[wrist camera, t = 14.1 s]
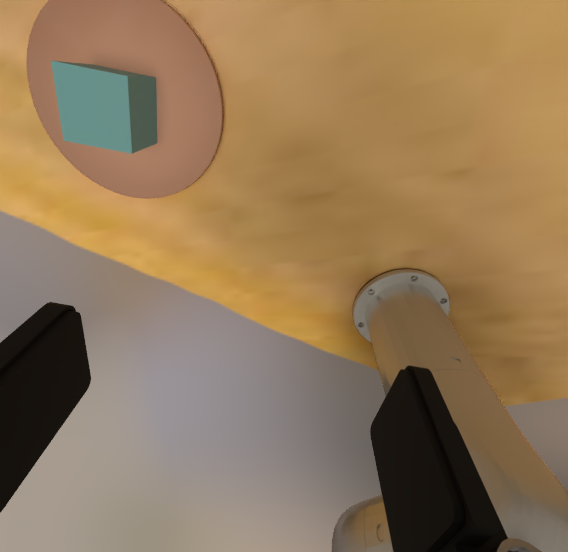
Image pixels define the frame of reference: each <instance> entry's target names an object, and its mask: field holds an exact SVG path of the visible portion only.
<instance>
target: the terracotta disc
mask: <svg viewBox="0 0 568 552" xmlns="http://www.w3.org/2000/svg"><path fill="white" fill-rule="evenodd" d="M51 61H62V62H72V63H83V64H93V65H98V66H103V67H108V68H113V69H118V70H122V71H127V72H132V73H137V74H142V75H147V76H152V77H156V93H157V144H155V145H152V146H150V147H147V148H145V149H142V150H140V151H138V152H135V153H133V154H130V153H125V152H120V151H115V150H110V149H104V148H99V147H94V146H89V145H84V144H78V143H73V142H68V141H63V134H62V128H61V122H60V115H59V109H58V102H57V96H56V90H55V83H54V77H53V71H52V64H51ZM27 76H28V82H29V88H30V93H31V96H32V99H33V103H34V106H35V108H36V111H37V113H38V116H39V118H40V120H41V122H42V124H43V126H44V128H45V130H46V132H47V133H48V135H49V136H50V138H51V140H52V141H53V143H54V144H55V145H56V147H57V148H58V149H59V150H60V152H61V153H62V154H63V155H64V157H65V158H66V159H67V160H68V161H69V162H70V163H71V164H72V165H73V166H74V167H75V168H77V169H78V170H79V171H80V172H81V173H82V174H84V175H85V176H86V177H88V178H89V179H91V180H92V181H94V182H95V183H97V184H99V185H101V186H102V187H104V188H106V189H109V190H111V191H113V192H116V193H119V194H122V195H125V196H130V197H135V198H147V199H149V198H160V197H165V196H169V195H172V194H174V193H177V192H179V191H181V190H183V189H185V188H187V187H188V186H189V185H191V184H192V183H193V182H194V181H196V180H197V179H198V178H199V177H200V176H201V175H202V174H203V173H204V172H205V170H206V169H207V168H208V166H209V165H210V163H211V162H212V160H213V158H214V156H215V154H216V152H217V149H218V146H219V143H220V139H221V135H222V130H223V118H224V114H223V99H222V93H221V87H220V84H219V80H218V76H217V73H216V71H215V68H214V65H213V63H212V60H211V58H210V56H209V55H208V53H207V51H206V49H205V47H204V45H203V44H202V42H201V41H200V39H199V38H198V36H197V35H196V33H195V32H194V31H193V29H192V28H191V27H190V26H189V25H188V23H187V22H186V21H185V20H184V19H183V18H182V17H181V16H180V15H179V14H178V13H177V12H176V11H175V10H173V9H172V8H171V7H169V6H168V5H167V4H165V3H164V2H163V1H161V0H49V1H48V2H47V3H46V4H45V6H44V7H43V8H42V9H41V11H40V13H39V15H38V16H37V18H36V20H35V22H34V25H33V28H32V31H31V33H30V37H29V43H28V48H27Z"/></svg>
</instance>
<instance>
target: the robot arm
mask: <svg viewBox="0 0 568 552" xmlns="http://www.w3.org/2000/svg"><path fill="white" fill-rule="evenodd" d="M449 310H450V299H449V296H448V293H447V291H446V290H445V288H444V286H443V285H442V284H441V283H440V281H439V280H437V279H436V278H435V277H434V276H432V275H430V274H428V273H426V272H422V271H419V270H412V269H402V270H395V271H390V272H387V273H384V274H382V275H380V276H378V277H376V278H374V279H373V280H371V281H370V282H369V283H368V284H366V285H365V286H364V287H363V288H362V290H361V291H360V292H359V293H358V295H357V297H356V299H355V302H354V305H353V319H354V323H355V326H356V328H357V330H358V332H359V333H360V334H361V335H362V336H363V337H364V338H365V339H366V340H368V341H369V342H371V343H372V346H373V350H374V354H375V357H376V361H377V365H378V369H379V372H380V376H381V380H382V384H383V387H384V391H385V395H386V398H385V400H384V402H383V404H382V405H381V407H380V409H379V411H378V413H377V415H376V417H375V419H374V421H373V422H372V425H371V440H372V445H373V450H374V456H375V461H376V466H377V471H378V476H379V481H380V486H381V491H382V494H381V495H378V496H375V497H373V498H370V499H367V500H364V501H362V502H360V503H357V504H355V505H353V506H351V507H350V508H349V509H347V510H346V511H345V512H344V513H343V514H342V515H341V516H340V518H339V519H338V522H337V524H336V526H335V528H334V532H333V538H332V552H568V490H567V489H566V488H565V487H564V486H563V484H562V483H561V482H560V481H559V480H558V478H557V477H556V476H555V475H554V474H553V472H552V471H551V470H550V469H549V468H548V466H547V465H546V464H545V463H544V462H543V460H542V459H541V458H540V456H539V455H538V454H537V452H536V451H535V450H534V449H533V447H532V446H531V445H530V443H529V442H528V441H527V439H526V438H525V437H524V435H523V434H522V433H521V431H520V430H519V428H518V427H517V425H516V424H515V423H514V421H513V419H512V418H511V416H510V415H509V413H508V412H507V410H506V409H505V407H504V406H503V404H502V403H501V401H500V400H499V398H498V397H497V395H496V393H495V392H494V390H493V389H492V387H491V385H490V384H489V382H488V381H487V379H486V378H485V376H484V374H483V373H482V371H481V370H480V368H479V366H478V365H477V363H476V362H475V360H474V358H473V357H472V355H471V354H470V352H469V350H468V349H467V347H466V346H465V344H464V342H463V341H462V339H461V338H460V336H459V334H458V333H457V331H456V330H455V328H454V326H453V325H452V323H451V322H450V320H449V318H448V315H449ZM90 381H91V376H90V369H89V363H88V357H87V351H86V345H85V339H84V332H83V326H82V321H81V315H80V313H78V312H76V310H75V308H74V307H73V306H70V305H64V304H58V303H52V302H50V303H47V304H45V305H44V306H43V307H42V308H41V309H39V310H38V311H37V312H36V313H35V314H34V315H32V316H31V317H30V318H29V319H28V320H27V321H25V322H24V323H23V324H22V325H21V326H20V327H18V329H16V330H15V331H14V332H13V333H11V334H10V335H9V336H8V337H7V338H6V339H4V340H3V341H2V342H1V343H0V512H1V511H2V510H3V508H4V507H5V506H6V504H7V503H8V501H9V500H10V499H11V497H12V496H13V494H14V493H15V491H16V490H17V489H18V487H19V486H20V485H21V483H22V482H23V480H24V478H25V477H26V476H27V474H28V473H29V472H30V470H31V469H32V467H33V466H34V464H35V463H36V462H37V460H38V459H39V457H40V456H41V455H42V453H43V452H44V450H45V449H46V448H47V446H48V445H49V443H50V442H51V440H52V439H53V438H54V436H55V434H56V433H57V432H58V430H59V429H60V428H61V426H62V425H63V423H64V422H65V421H66V419H67V418H68V416H69V415H70V413H71V412H72V410H73V409H74V408H75V406H76V405H77V403H78V402H79V401H80V399H81V398H82V396H83V395H84V394H85V392H86V391H87V389H88V387H89V384H90Z"/></svg>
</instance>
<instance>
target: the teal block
mask: <svg viewBox="0 0 568 552" xmlns="http://www.w3.org/2000/svg"><path fill="white" fill-rule="evenodd" d="M51 64H52V71H53V77H54V83H55V90H56V96H57V102H58V109H59V115H60V122H61V128H62V134H63V141H68V142H73V143H78V144H84V145H89V146H94V147H99V148H104V149H110V150H115V151H120V152H125V153H130V154H133V153H135V152H138V151H140V150H142V149H145V148H147V147H150V146H152V145H155V144H157V93H156V77H152V76H147V75H142V74H137V73H132V72H127V71H122V70H118V69H113V68H108V67H103V66H98V65H93V64H83V63H72V62H62V61H51Z"/></svg>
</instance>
